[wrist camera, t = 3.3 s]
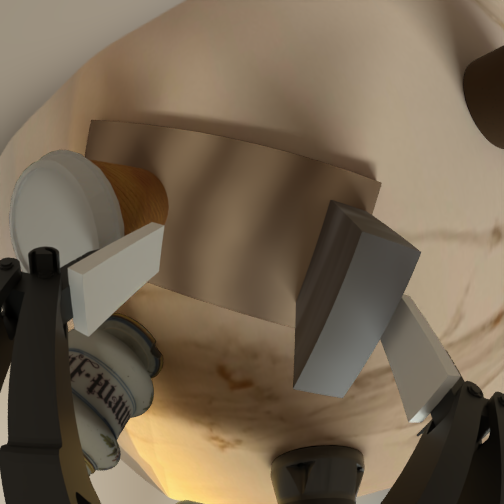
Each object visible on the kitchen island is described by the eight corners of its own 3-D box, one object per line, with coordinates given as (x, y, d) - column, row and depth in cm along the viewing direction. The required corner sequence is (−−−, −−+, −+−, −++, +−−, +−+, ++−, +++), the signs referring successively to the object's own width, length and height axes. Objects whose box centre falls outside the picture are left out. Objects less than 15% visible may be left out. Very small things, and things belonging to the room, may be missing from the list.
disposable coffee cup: (95, 165, 23) (-3, 178, 11) (180, 139, 21) (88, 124, 10) (114, 257, 25) (31, 312, 14) (199, 247, 24) (130, 317, 12)
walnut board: (377, 181, 20) (448, 202, 9) (322, 328, 25) (332, 423, 14) (98, 120, 21) (9, 115, 11) (84, 251, 26) (10, 293, 16)
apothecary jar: (188, 381, 30) (128, 506, 13) (119, 382, 32) (56, 472, 16) (141, 295, 27) (24, 414, 10) (76, 311, 29) (-17, 392, 12)
